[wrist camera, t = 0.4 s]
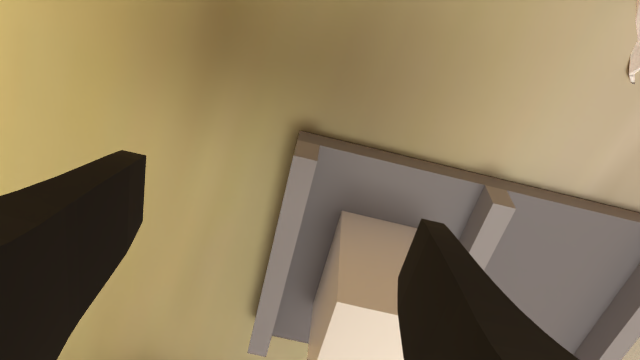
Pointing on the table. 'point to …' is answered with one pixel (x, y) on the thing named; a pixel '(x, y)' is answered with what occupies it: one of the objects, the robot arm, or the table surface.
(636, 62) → the cloth
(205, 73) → the table surface
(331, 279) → the white plug
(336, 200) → the slot rack
